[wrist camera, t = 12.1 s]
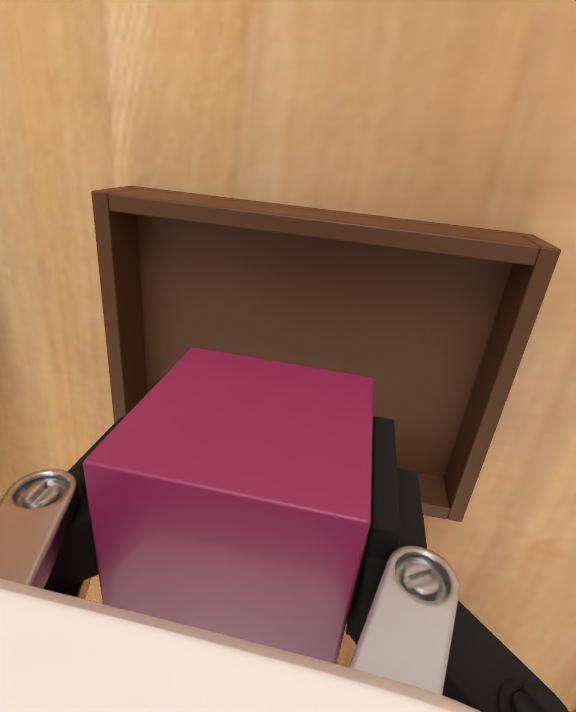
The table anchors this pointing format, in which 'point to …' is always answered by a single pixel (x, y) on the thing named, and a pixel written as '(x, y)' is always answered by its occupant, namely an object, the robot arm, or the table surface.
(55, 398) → the table surface
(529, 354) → the table surface
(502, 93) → the table surface
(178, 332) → the tray
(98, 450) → the top block
